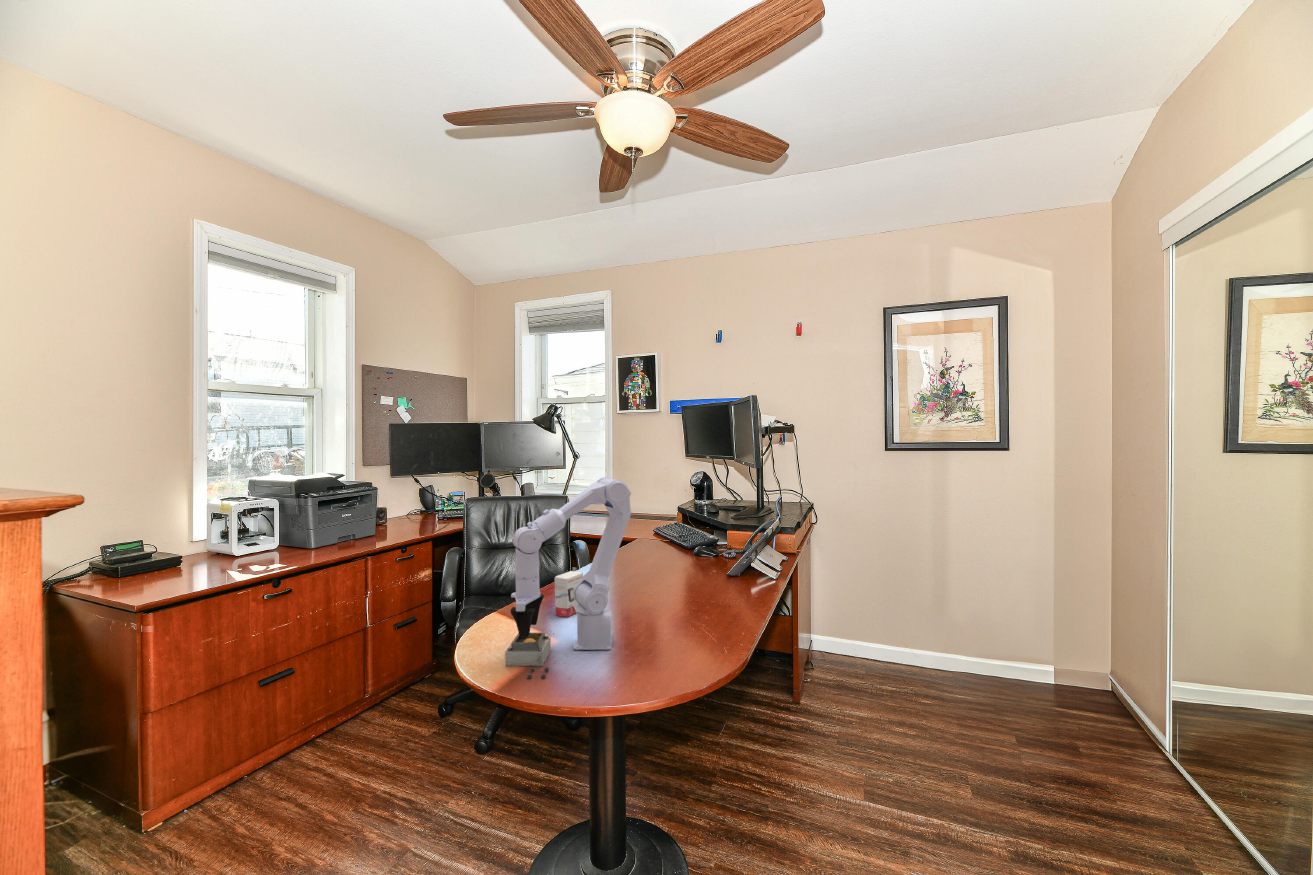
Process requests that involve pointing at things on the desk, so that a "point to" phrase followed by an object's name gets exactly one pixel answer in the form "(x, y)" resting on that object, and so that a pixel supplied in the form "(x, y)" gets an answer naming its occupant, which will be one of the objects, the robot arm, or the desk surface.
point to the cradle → (541, 675)
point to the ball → (529, 640)
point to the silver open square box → (528, 650)
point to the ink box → (566, 593)
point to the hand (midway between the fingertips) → (528, 630)
